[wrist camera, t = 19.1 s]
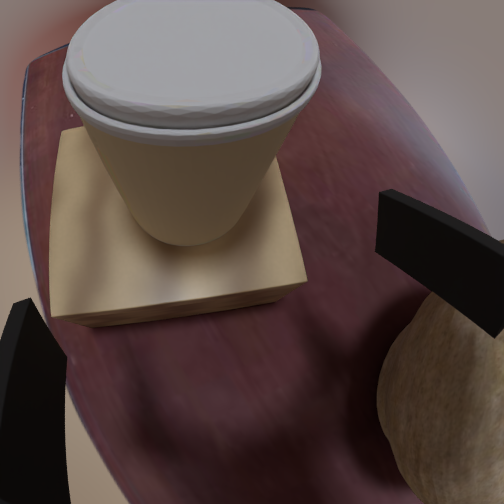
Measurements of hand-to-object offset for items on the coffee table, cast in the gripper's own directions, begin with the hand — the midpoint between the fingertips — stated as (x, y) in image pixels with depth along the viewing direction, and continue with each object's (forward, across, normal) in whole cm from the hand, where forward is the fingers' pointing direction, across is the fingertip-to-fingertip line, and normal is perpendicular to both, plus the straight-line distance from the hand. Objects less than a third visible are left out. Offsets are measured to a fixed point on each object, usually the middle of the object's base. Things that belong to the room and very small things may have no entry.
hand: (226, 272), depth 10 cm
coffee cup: (+11, +1, 0) cm, 11 cm away
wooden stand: (+17, -1, -6) cm, 18 cm away
